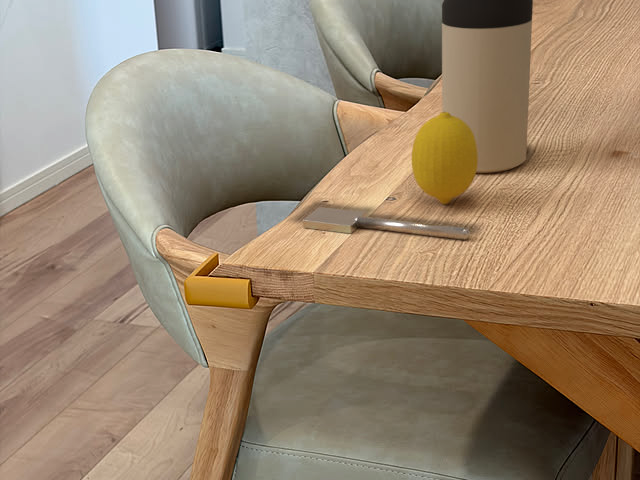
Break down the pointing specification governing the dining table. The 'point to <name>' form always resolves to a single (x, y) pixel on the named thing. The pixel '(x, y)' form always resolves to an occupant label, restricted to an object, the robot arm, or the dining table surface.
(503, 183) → the dining table surface
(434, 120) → the lemon
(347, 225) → the silver knife
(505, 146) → the travel mug
